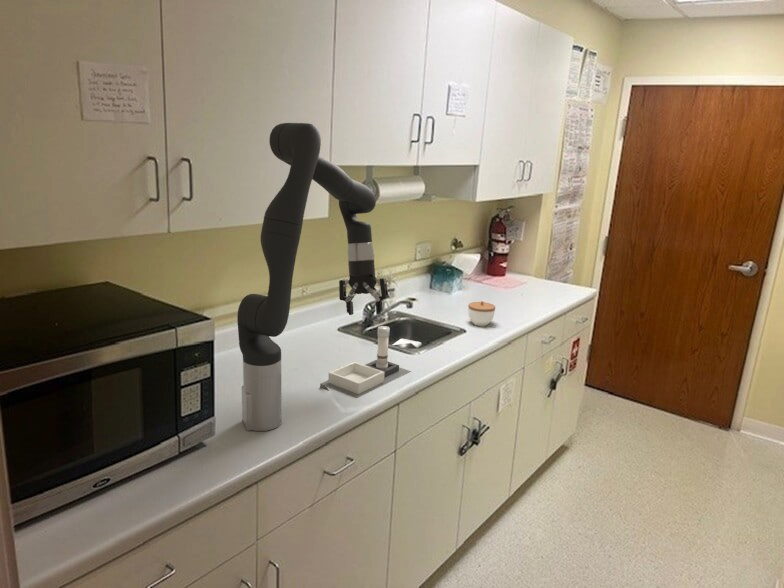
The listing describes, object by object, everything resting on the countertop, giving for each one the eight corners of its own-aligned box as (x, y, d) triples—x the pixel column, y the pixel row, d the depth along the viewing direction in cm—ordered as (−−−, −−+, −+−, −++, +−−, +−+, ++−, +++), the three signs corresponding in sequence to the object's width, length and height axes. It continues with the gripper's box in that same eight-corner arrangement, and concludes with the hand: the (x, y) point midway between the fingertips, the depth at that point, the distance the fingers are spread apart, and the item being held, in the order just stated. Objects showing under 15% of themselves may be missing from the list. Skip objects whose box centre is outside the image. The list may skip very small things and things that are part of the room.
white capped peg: (378, 373, 178) (380, 330, 174) (374, 369, 181) (375, 326, 178) (389, 372, 180) (391, 329, 176) (384, 367, 183) (386, 325, 179)
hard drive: (408, 353, 197) (421, 341, 208) (386, 348, 200) (400, 337, 211) (407, 357, 197) (421, 346, 208) (385, 353, 201) (400, 342, 212)
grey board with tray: (356, 401, 161) (357, 387, 160) (320, 387, 169) (320, 373, 168) (411, 374, 181) (411, 361, 180) (376, 363, 189) (376, 350, 188)
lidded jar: (474, 328, 229) (476, 305, 227) (462, 320, 239) (464, 298, 236) (498, 327, 233) (500, 304, 230) (485, 319, 242) (487, 297, 240)
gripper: (333, 260, 167) (337, 316, 168) (380, 258, 162) (384, 315, 164) (343, 259, 174) (346, 313, 175) (388, 256, 170) (391, 312, 171)
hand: (364, 314), depth 170 cm, fingers open, 8 cm apart
